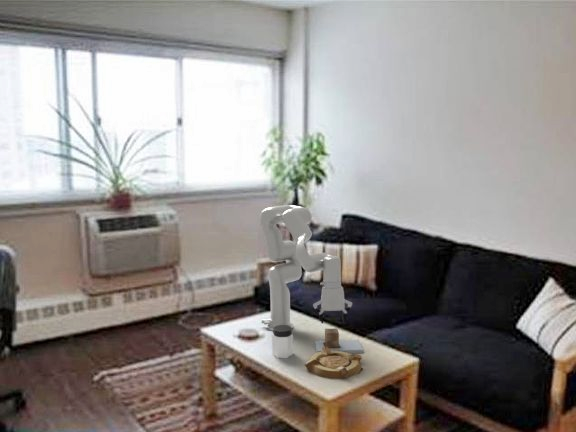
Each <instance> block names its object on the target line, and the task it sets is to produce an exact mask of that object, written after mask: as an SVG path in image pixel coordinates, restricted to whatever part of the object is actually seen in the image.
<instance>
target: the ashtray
mask: <svg viewBox="0 0 576 432" xmlns="http://www.w3.org/2000/svg"><path fill="white" fill-rule="evenodd" d="M362 359H363V357H362V355H361V354H359V353H346V352H342V351H330V350H329V349H328V347H325V346H324V347H322V352H318V353H317V352H316V353H314V354H313V355H312V356H311V357H310V358H309V359H308V361H307V362H305V363H304V367H305V368H306V371H307V372H308V373H312V374H314V375H316V376H318V377H321V378H325V379H331V380H336V379H337V380H339V379H340V380H342V379H348V378H350V377H354V376H357V375H359V373H360V372H361V370H363V367H362V363H361V360H362Z"/></svg>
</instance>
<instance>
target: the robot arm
mask: <svg viewBox="0 0 576 432" xmlns="http://www.w3.org/2000/svg"><path fill="white" fill-rule="evenodd" d="M312 217H313V216H312V213H311V211H310V210H309V209H308V208H306V207H304V206H301V205H293V204H285V205H276V206H275V205H274V206H269V207H266V208H264V209H263V210H262V211H261V212H260V214H259V226H260V228H261V231H262V233H263V234H262V235H263V238H264V242H265V249H266V254H267V258H268V260H269V261H270V262H271V263H279V262H280V264H275V265H273V266H272V267H270V268H269V270H268V272H267V277H268V284H269V291H270V292H269V295H270V297H269V298H270V300H269V301H270V316H269V318H268V319H265V318H264V319H262V318H261V324H263V325H267V329H268V330H269V331H272V332H273V328H274V327H275V326H278V325H288V326H290V327H291V328H292V329H294V324H293V322H291V292H290V289H289V288H288V286H287V284H288V283H293V282H296V281H298V280H300V279H301V277H302V275H303V270H304V271H305V272H307V273H316V272H318V271H319V272H320V271H323V280H322V281H321V282H320V286H322V287H321V294H320V295H321V296H320V299H319V300H318V301H316V302H314V303H313V304H312V307H313V308H314V310H315V311H316V313H317V314H319V322H320V323H321V324H323V323H324V314H323V313H324V312H334V311H335V312H336V311H339V312H340V311H342V317H341V318H342V322H343V323H344V324H345V323H346V321H347V314H348V312H349V311H350V310H351V308H352V306H353V302H352V301H349V300H347V299H345V292H344V287H343V286H342V268H341V267H342V265H341V261H342V260H341V258H340V257H339V256H338V255H332V254H330V253H328V252H320V253H314V254H310V253H309V252H308V251H307V248H306V246H305V244H306V243H307V242H309V240H310V239H311V238H312V235H313V232H312V230H311V229H310V227H309V224H310V223H311V222H312ZM278 224H284V225H285V227H286V228H287V230H288V231H289V233H290V235H291V236H292V238H293V239H294V241H295V242H294V241H293V240H283V235H282V232H281V230H280V229H279V227H278V226H277V225H278ZM281 262H285V263H281ZM302 269H303V270H302ZM345 304H346V305H347V306H346V305H345ZM319 305H320V306H321V307H320V309H319V307H318V306H319Z"/></svg>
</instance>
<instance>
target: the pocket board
mask: <svg viewBox="0 0 576 432" xmlns="http://www.w3.org/2000/svg"><path fill="white" fill-rule="evenodd" d="M314 345H315V350H316V353H318V352H322V347H324V346H325V339H321V340H320V339H319V340H314ZM328 349H329V350H330V351H342V352H346V353H349V354H363V353H364V349H363V346H362V344H361V342H360V340H359V338H357V339H339V348H328Z"/></svg>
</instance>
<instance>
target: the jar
mask: <svg viewBox="0 0 576 432" xmlns="http://www.w3.org/2000/svg"><path fill="white" fill-rule="evenodd" d="M271 342H272V345H271V349H272V355H273V356H274V357H275V358H277V359H288V358H290V356H292V355H294V334H293V328H291V327H290V326H288V325H278V326H275V327H274V328H273V331H272V334H271Z"/></svg>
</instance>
